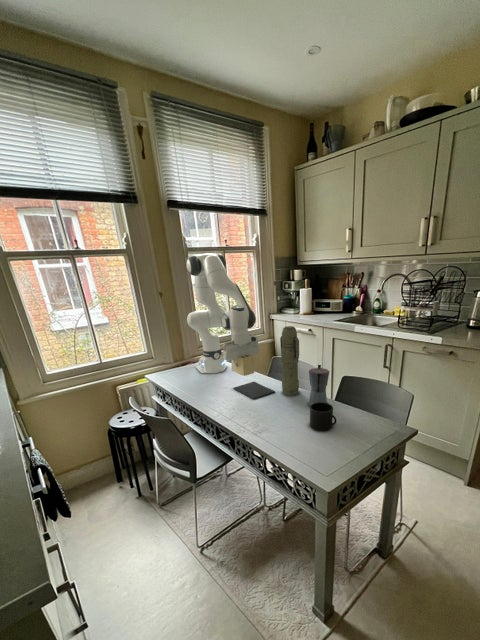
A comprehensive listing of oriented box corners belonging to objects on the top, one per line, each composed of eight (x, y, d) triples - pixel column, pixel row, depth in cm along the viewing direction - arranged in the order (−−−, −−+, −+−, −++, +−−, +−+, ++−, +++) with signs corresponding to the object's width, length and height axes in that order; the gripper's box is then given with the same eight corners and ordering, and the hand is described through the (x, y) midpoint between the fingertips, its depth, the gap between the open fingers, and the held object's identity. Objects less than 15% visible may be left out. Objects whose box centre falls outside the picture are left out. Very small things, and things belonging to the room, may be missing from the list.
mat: (233, 389, 178) (233, 387, 178) (253, 382, 185) (253, 381, 185) (253, 399, 163) (253, 398, 163) (274, 392, 171) (274, 391, 170)
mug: (329, 436, 127) (330, 416, 123) (305, 427, 134) (305, 408, 131) (341, 426, 133) (342, 407, 129) (318, 418, 141) (318, 400, 137)
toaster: (254, 373, 165) (253, 356, 161) (243, 376, 162) (242, 358, 158) (241, 367, 175) (239, 351, 171) (231, 370, 172) (229, 353, 168)
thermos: (287, 387, 176) (285, 324, 162) (304, 392, 169) (304, 326, 154) (276, 392, 170) (274, 327, 156) (294, 398, 163) (293, 330, 148)
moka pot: (327, 398, 160) (328, 360, 152) (329, 412, 146) (331, 371, 138) (308, 398, 161) (308, 360, 153) (308, 412, 147) (309, 371, 139)
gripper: (225, 344, 153) (228, 371, 159) (260, 336, 164) (261, 362, 169) (219, 341, 158) (222, 368, 163) (253, 334, 168) (255, 359, 174)
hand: (242, 365), depth 166 cm, fingers closed on toaster, 6 cm apart
